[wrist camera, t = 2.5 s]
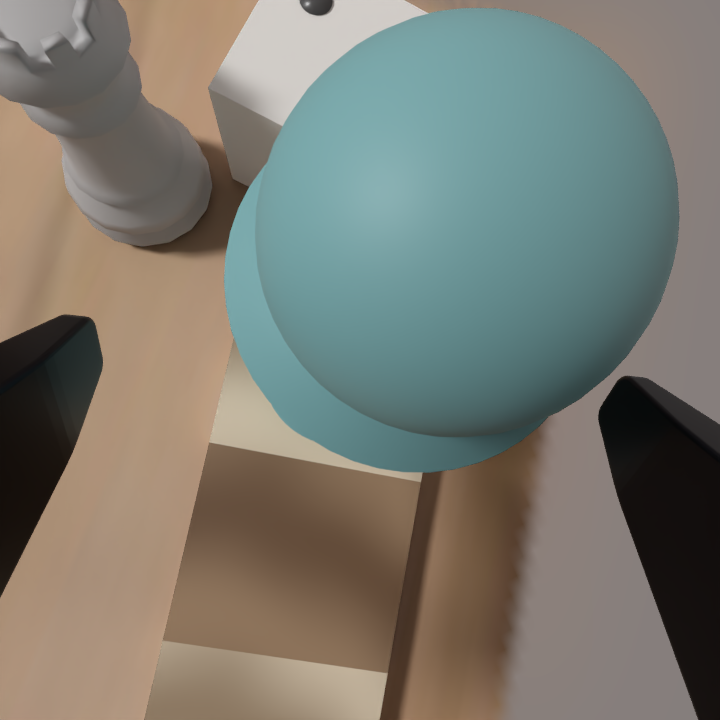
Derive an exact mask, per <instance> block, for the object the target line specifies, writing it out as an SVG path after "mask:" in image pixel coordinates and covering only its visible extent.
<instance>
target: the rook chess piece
mask: <svg viewBox="0 0 720 720" xmlns="http://www.w3.org/2000/svg"><path fill="white" fill-rule="evenodd" d="M130 42H131V38H130V33H129V27H128V22H127V16H126V12H125V11H124V9H123V8H122V6H121V5H120V3H119V2H118V0H0V95H2V96H3V97H5V98H6V99H8V100H9V101H13V102H18V103H20V104H21V106H22V107H23V109H24V110H25V112H26V113H27V115H28V116H29V118H30V119H31V120H32V121H34V122H35V123H37V124H38V125H40V126H41V127H43V128H44V129H46V130H47V131H49V132H50V133H52V134H55V135H56V137H57V138H58V140H59V142H60V144H61V145H62V151H63V157H62V165H63V171H64V177H65V183H66V187H67V190H68V192H69V194H70V195H71V197H72V198H73V200H74V201H75V203H76V204H77V206H78V207H79V209H80V210H81V212H82V213H83V214H84V215H85V216H86V217H87V218H88V220H89V221H90V223H91V224H92V226H93V227H95V228H96V229H98V230H99V231H101V232H103V233H104V234H106V235H107V236H109V237H110V238H112V239H113V240H115V241H118V242H123V243H128V244H132V245H137V246H142V247H143V246H149V245H156V244H162V243H169V242H171V241H172V240H174V239H176V238H178V237H179V236H181V235H183V234H184V233H186V232H188V231H190V230H191V229H192V228H193V227H194V226H195V224H196V223H197V222H198V220H199V219H200V218H201V216H202V215H203V214H204V212H205V211H206V210H207V207H208V203H209V198H210V194H211V190H212V180H211V175H210V170H209V165H208V161H207V160H206V158H205V157H204V155H203V154H202V151H201V148H200V147H199V145H198V144H197V142H196V141H195V139H194V138H193V136H192V135H191V133H190V132H189V130H188V129H187V128H186V127H185V126H184V125H183V124H182V123H181V122H180V121H178V120H177V119H175V118H174V117H172V116H171V115H169V114H168V113H166V112H165V111H163V110H162V109H160V108H157V107H155V106H153V105H152V104H150V103H149V102H148V101H147V100H146V98H145V97H144V96H143V94H142V93H141V89H142V85H141V79H140V74H139V68H138V65H137V64H136V62H135V61H134V59H133V58H132V56H131V55H130V53H129V52H128V50H129V46H130Z"/></svg>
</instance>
